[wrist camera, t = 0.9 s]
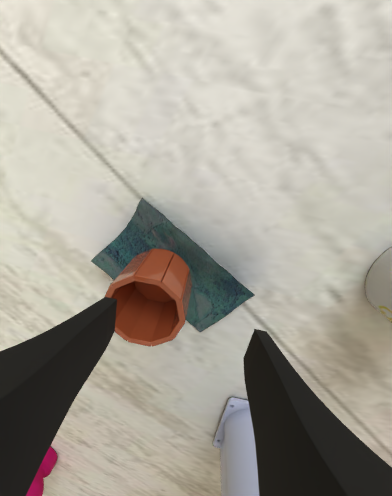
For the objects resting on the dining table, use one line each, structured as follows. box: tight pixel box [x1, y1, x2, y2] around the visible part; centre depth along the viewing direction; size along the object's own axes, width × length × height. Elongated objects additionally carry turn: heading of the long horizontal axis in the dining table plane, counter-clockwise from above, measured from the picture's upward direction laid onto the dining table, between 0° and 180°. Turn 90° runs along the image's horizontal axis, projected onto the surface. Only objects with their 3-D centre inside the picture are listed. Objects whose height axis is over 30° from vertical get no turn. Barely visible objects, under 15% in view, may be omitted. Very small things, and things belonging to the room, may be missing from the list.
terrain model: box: [91, 198, 254, 332], centre depth 20 cm, size 13×8×2 cm, turn 49°
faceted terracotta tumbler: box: [104, 248, 192, 346], centre depth 17 cm, size 5×6×5 cm
